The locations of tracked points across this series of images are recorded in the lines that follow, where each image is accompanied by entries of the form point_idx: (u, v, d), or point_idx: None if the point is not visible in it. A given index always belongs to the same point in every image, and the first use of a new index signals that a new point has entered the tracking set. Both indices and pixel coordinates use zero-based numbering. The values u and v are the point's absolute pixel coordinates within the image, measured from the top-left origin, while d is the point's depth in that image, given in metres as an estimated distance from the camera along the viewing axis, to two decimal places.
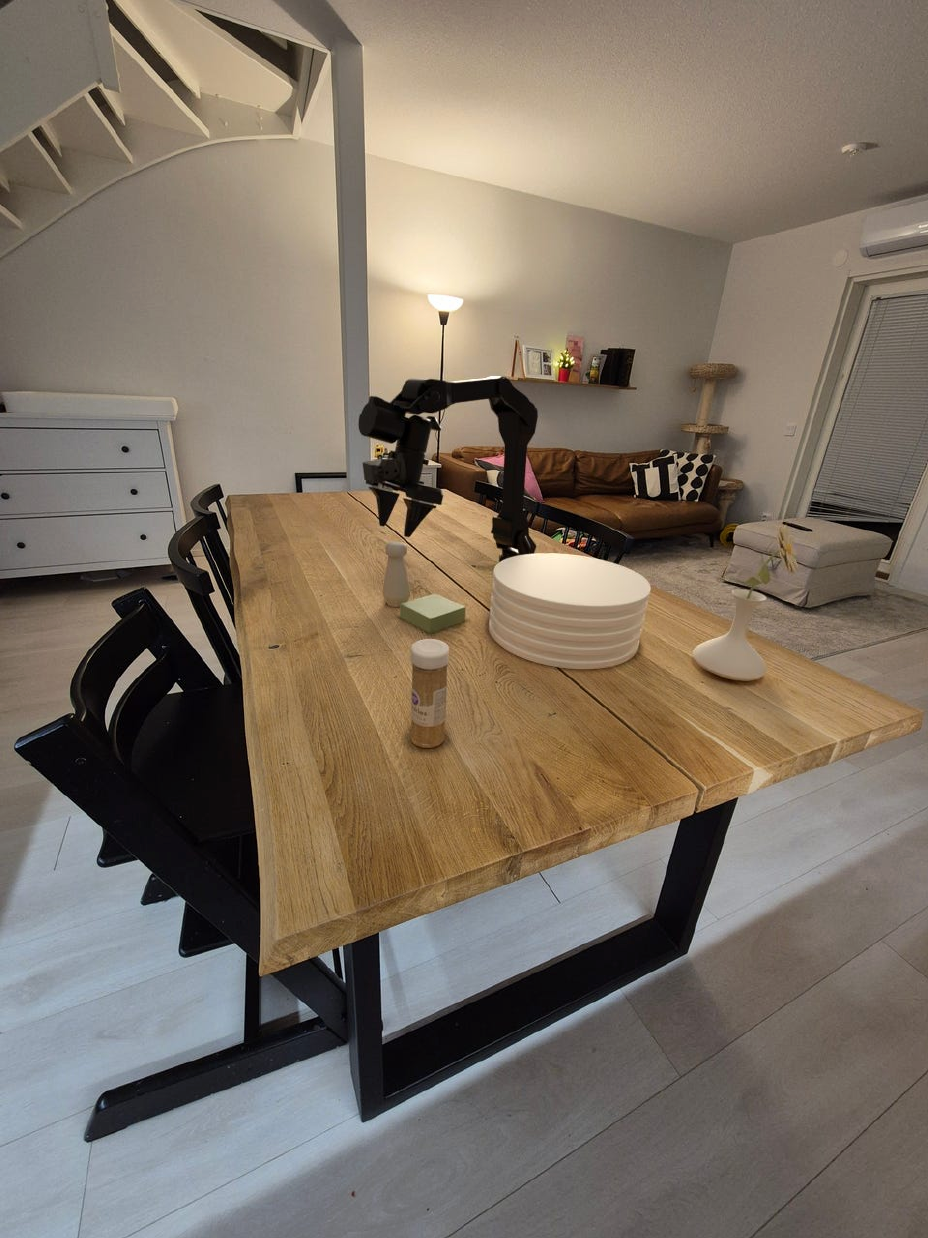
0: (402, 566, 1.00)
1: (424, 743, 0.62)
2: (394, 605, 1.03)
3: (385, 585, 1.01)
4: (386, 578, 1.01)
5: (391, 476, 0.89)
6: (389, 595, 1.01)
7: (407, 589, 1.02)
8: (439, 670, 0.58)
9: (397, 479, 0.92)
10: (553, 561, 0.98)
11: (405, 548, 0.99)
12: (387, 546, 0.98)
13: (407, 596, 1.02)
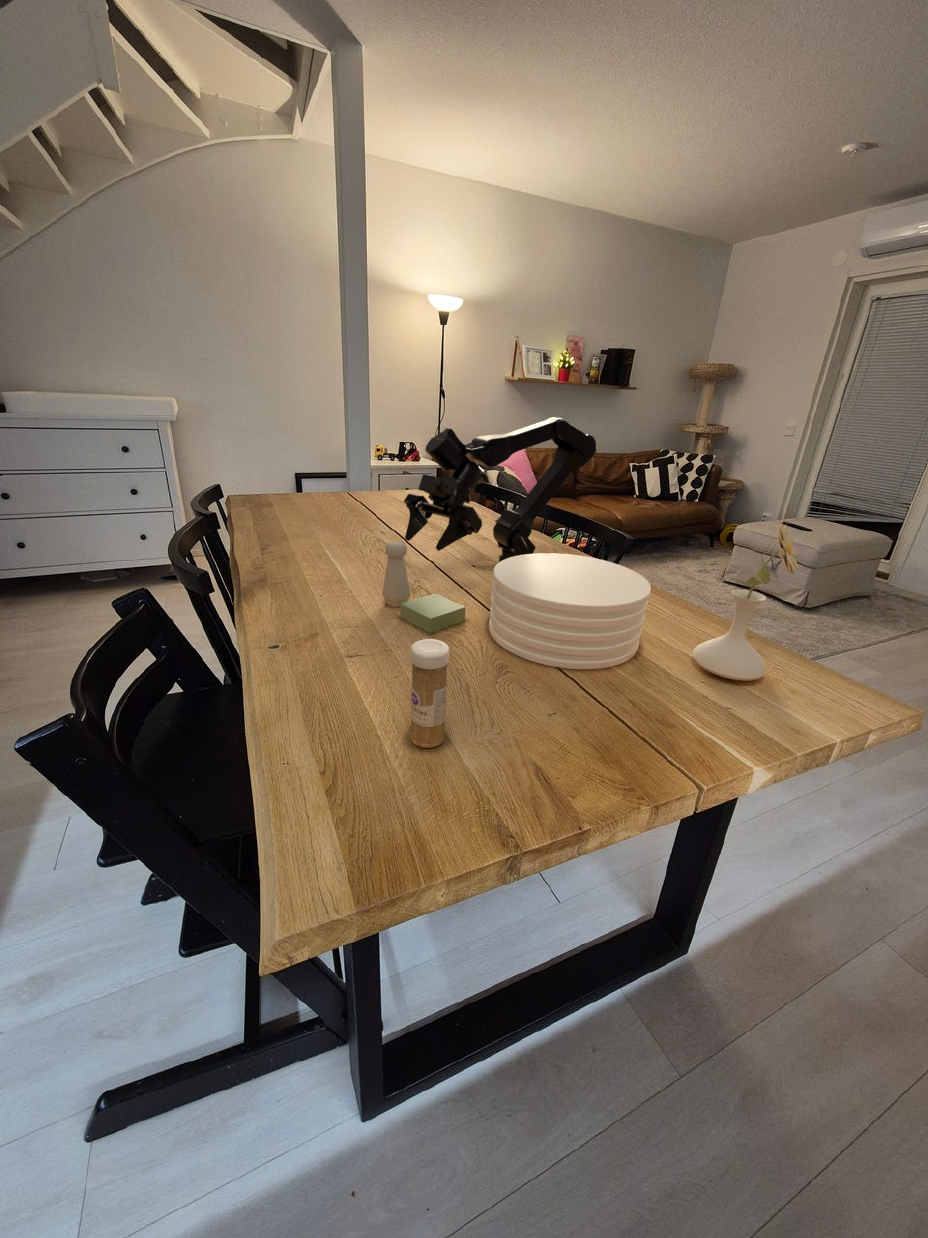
0: (402, 566, 1.00)
1: (424, 743, 0.62)
2: (394, 605, 1.03)
3: (385, 585, 1.01)
4: (386, 578, 1.01)
5: (448, 491, 1.00)
6: (389, 595, 1.01)
7: (407, 589, 1.02)
8: (439, 670, 0.58)
9: (446, 499, 1.03)
10: (553, 561, 0.98)
11: (405, 548, 0.99)
12: (387, 546, 0.98)
13: (407, 596, 1.02)
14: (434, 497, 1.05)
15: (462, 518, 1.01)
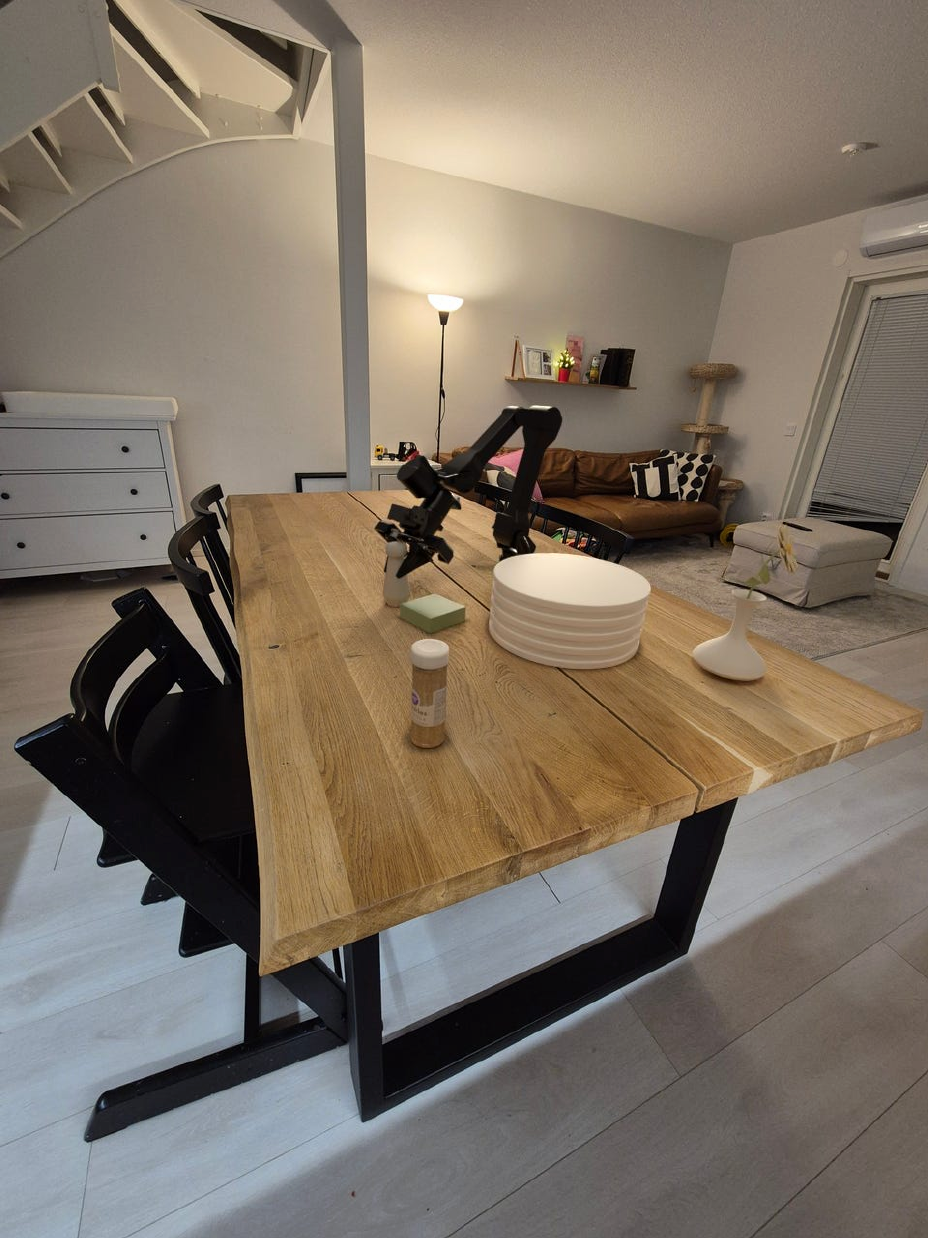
0: None
1: (424, 743, 0.62)
2: (394, 605, 1.03)
3: (385, 585, 1.01)
4: (386, 578, 1.01)
5: (417, 522, 0.96)
6: (389, 595, 1.01)
7: (407, 589, 1.02)
8: (439, 670, 0.58)
9: (417, 529, 0.99)
10: (553, 561, 0.98)
11: (405, 548, 0.99)
12: (387, 546, 0.98)
13: (407, 596, 1.02)
14: (404, 526, 1.02)
15: (422, 546, 0.99)
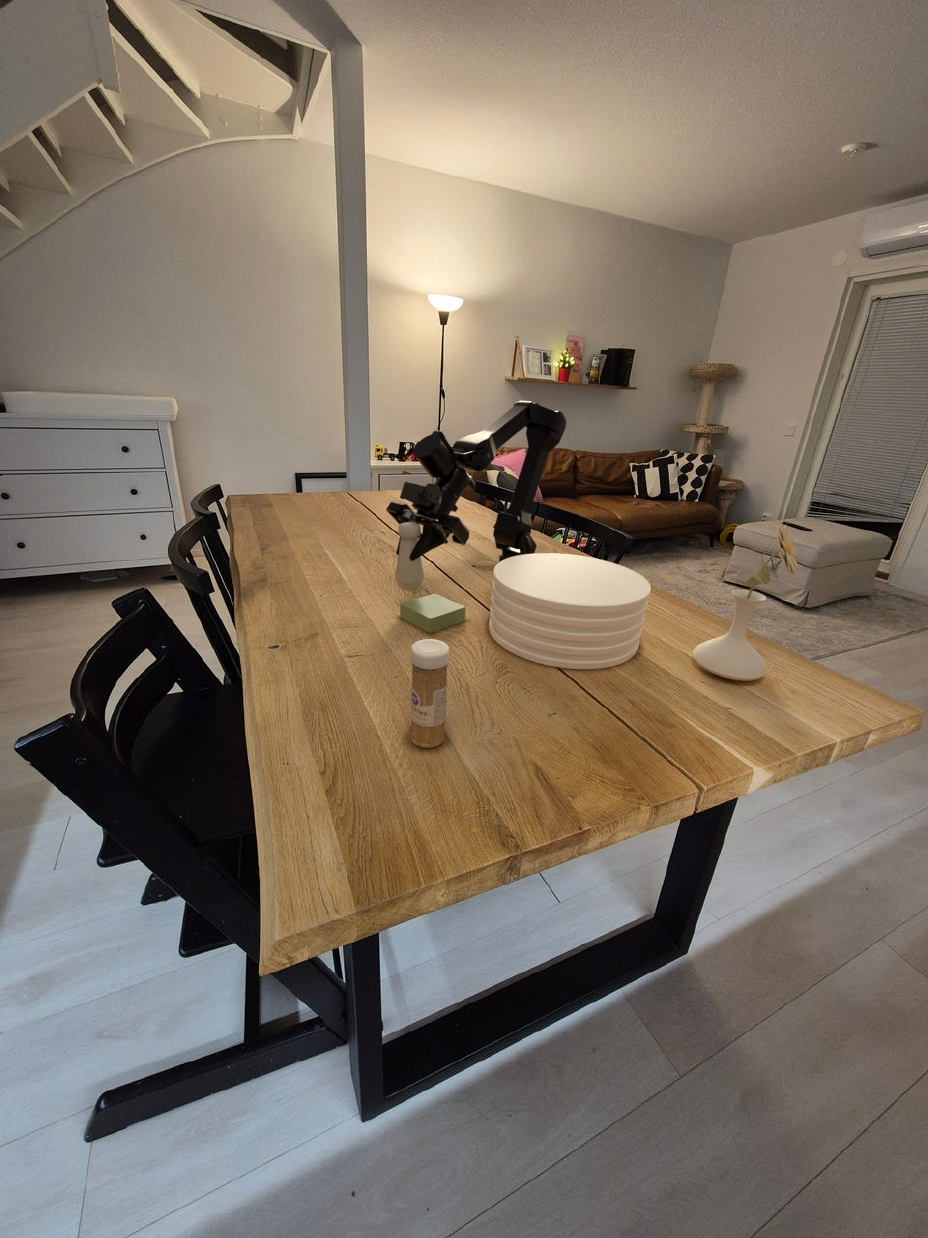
0: None
1: (424, 743, 0.62)
2: (407, 589, 0.99)
3: (398, 568, 0.98)
4: (399, 560, 0.97)
5: (432, 500, 0.92)
6: (402, 578, 0.97)
7: (420, 572, 0.98)
8: (439, 670, 0.58)
9: (431, 508, 0.95)
10: (553, 561, 0.98)
11: (419, 529, 0.95)
12: (400, 527, 0.94)
13: (421, 579, 0.98)
14: (418, 506, 0.97)
15: (437, 526, 0.94)
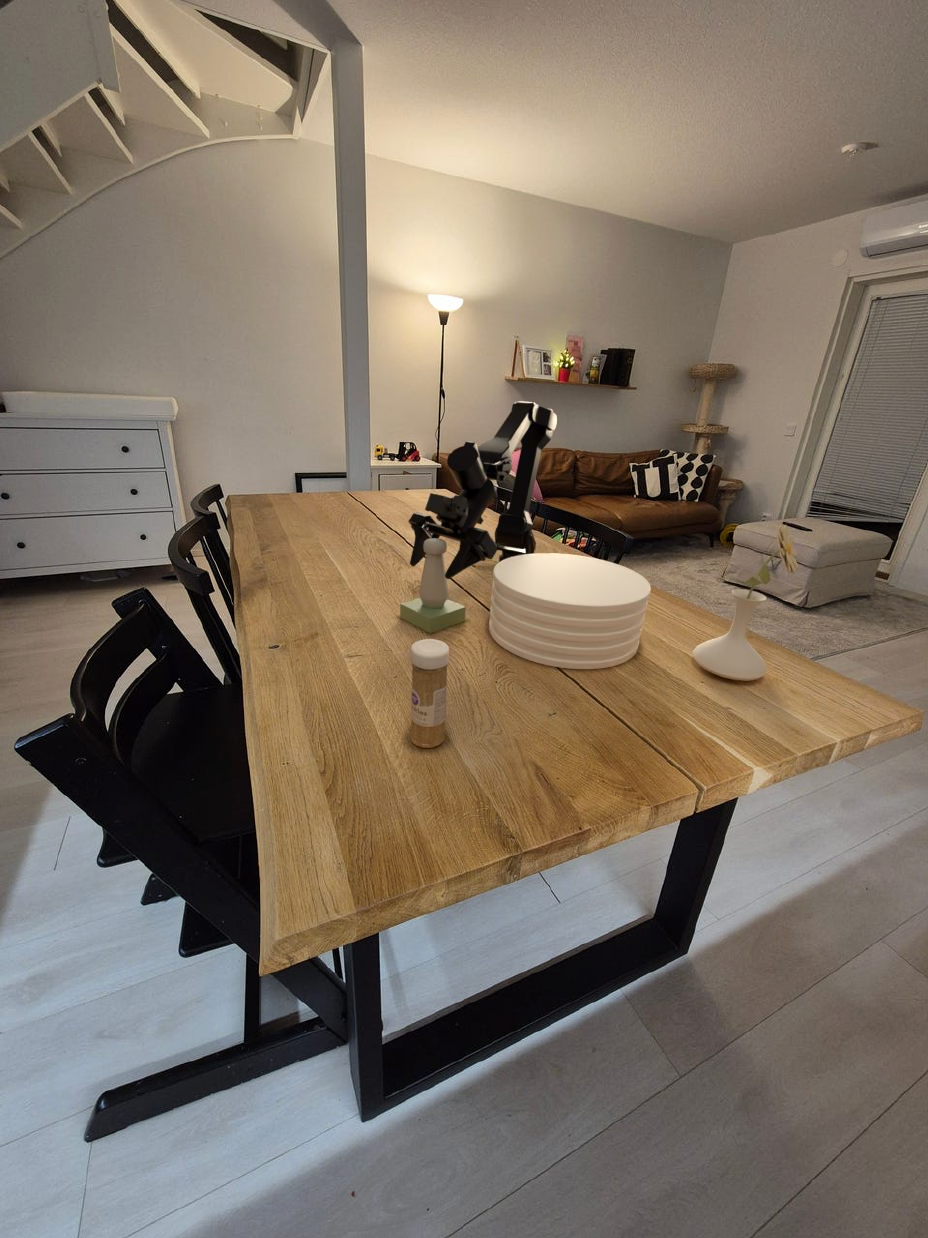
0: (441, 564, 0.93)
1: (424, 743, 0.62)
2: (432, 607, 0.95)
3: (422, 585, 0.94)
4: (424, 577, 0.94)
5: (459, 513, 0.88)
6: (427, 595, 0.94)
7: (445, 590, 0.94)
8: (439, 670, 0.58)
9: (457, 521, 0.91)
10: (553, 561, 0.98)
11: (445, 545, 0.92)
12: (426, 543, 0.91)
13: (446, 597, 0.95)
14: (443, 518, 0.94)
15: (475, 543, 0.89)
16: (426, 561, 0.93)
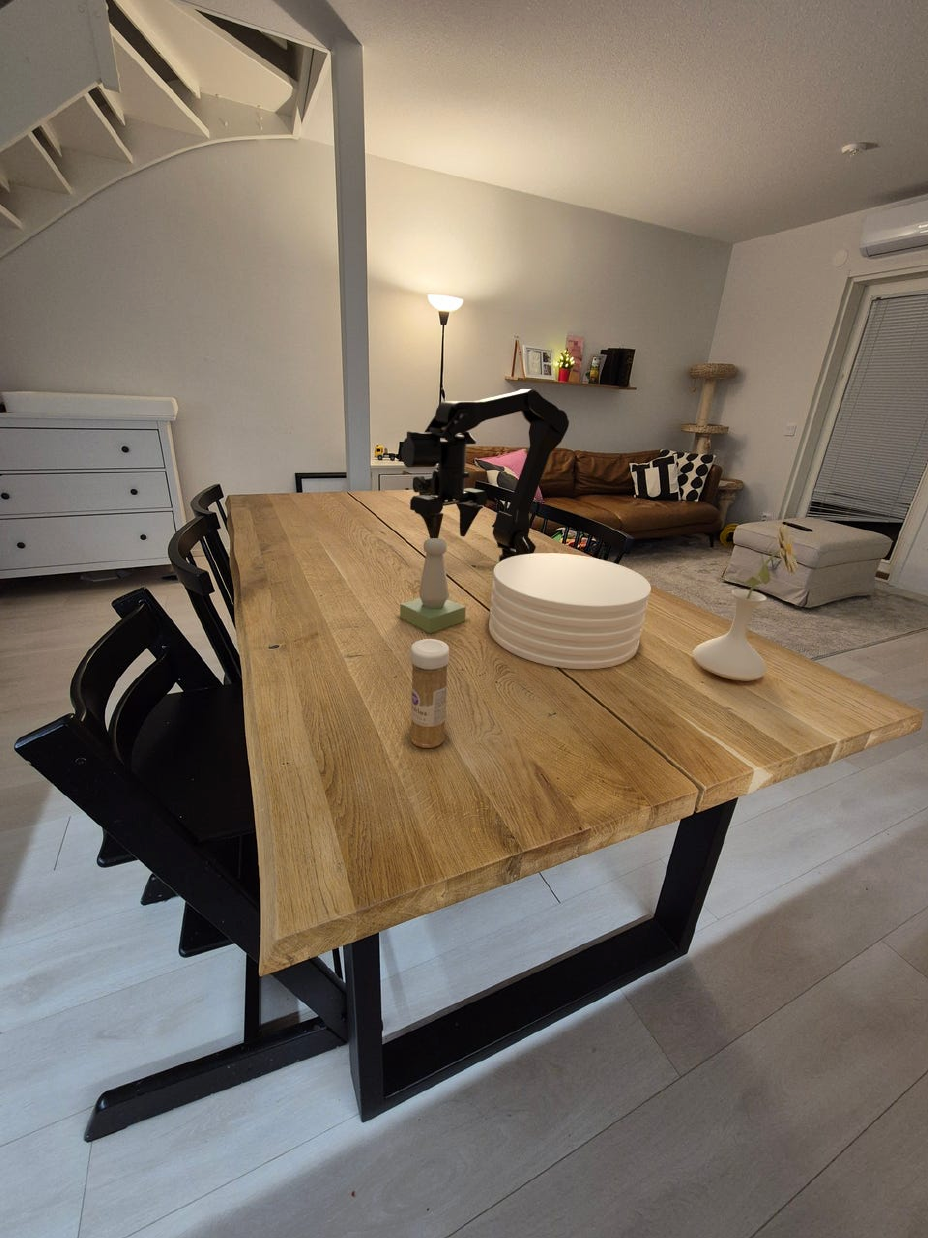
0: (441, 564, 0.93)
1: (424, 743, 0.62)
2: (432, 607, 0.95)
3: (422, 585, 0.94)
4: (424, 577, 0.94)
5: (417, 490, 1.07)
6: (427, 595, 0.94)
7: (445, 590, 0.94)
8: (439, 670, 0.58)
9: None
10: (553, 561, 0.98)
11: (445, 545, 0.92)
12: (426, 543, 0.91)
13: (446, 597, 0.95)
14: None
15: None
16: (426, 561, 0.93)
